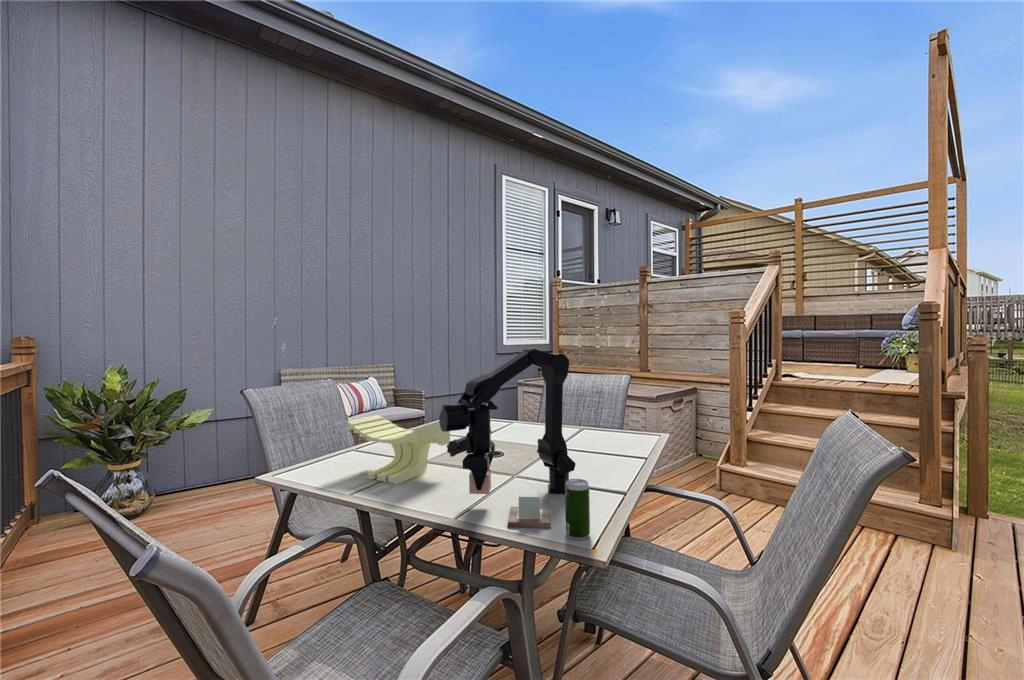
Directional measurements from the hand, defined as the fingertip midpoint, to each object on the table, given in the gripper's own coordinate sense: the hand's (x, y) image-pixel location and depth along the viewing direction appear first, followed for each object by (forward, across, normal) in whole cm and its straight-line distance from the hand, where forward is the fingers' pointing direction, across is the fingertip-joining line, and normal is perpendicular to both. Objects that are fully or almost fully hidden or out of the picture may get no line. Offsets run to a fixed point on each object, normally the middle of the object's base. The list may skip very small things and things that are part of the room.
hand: (480, 486), depth 121 cm
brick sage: (+4, +8, +13) cm, 16 cm away
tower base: (+5, +8, +13) cm, 16 cm away
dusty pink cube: (+1, 0, 0) cm, 1 cm away
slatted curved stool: (+6, -28, -31) cm, 42 cm away
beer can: (+6, +17, +24) cm, 30 cm away
